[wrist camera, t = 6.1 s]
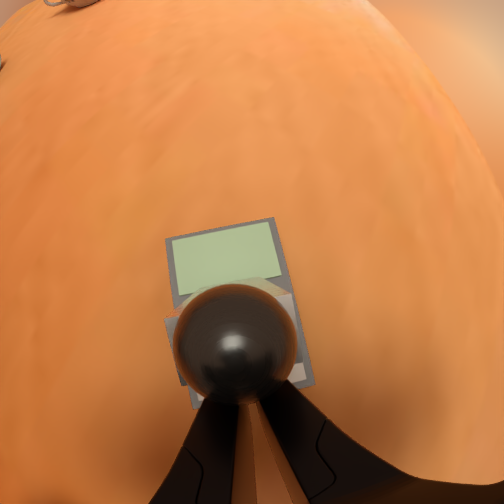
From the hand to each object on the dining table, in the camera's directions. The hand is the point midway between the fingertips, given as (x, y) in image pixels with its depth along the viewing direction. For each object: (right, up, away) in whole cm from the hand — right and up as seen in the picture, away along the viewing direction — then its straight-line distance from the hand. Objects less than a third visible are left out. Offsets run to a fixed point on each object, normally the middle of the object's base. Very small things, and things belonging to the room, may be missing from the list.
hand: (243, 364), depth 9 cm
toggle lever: (-1, +1, +6) cm, 6 cm away
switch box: (-1, 0, +9) cm, 9 cm away
